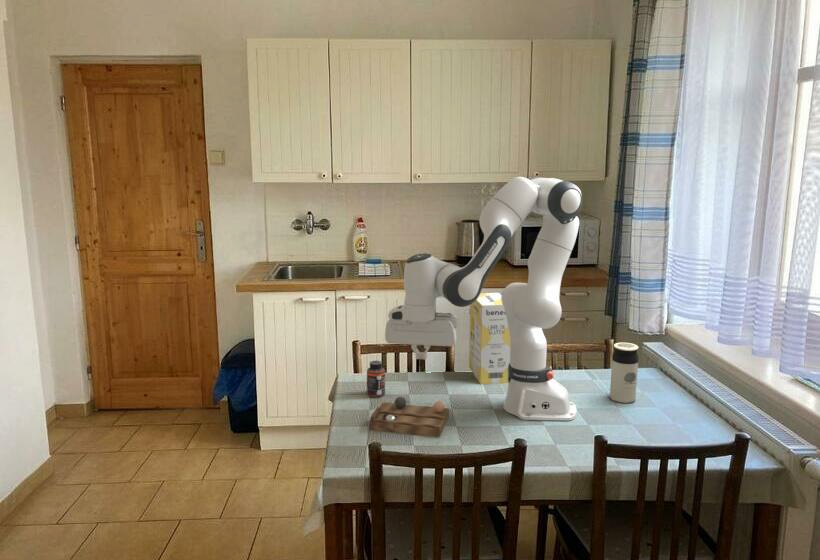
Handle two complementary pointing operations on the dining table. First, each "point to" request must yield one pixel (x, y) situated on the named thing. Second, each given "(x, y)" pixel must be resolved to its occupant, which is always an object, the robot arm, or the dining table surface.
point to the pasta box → (489, 339)
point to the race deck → (409, 420)
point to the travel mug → (624, 373)
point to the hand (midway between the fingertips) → (421, 358)
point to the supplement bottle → (376, 379)
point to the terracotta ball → (438, 406)
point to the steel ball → (390, 418)
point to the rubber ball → (400, 402)
